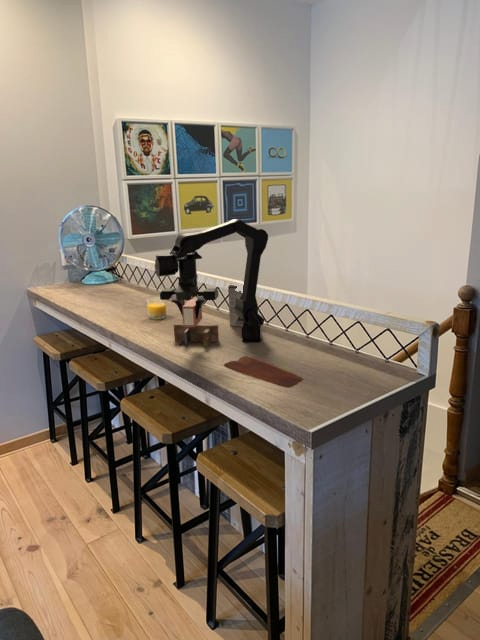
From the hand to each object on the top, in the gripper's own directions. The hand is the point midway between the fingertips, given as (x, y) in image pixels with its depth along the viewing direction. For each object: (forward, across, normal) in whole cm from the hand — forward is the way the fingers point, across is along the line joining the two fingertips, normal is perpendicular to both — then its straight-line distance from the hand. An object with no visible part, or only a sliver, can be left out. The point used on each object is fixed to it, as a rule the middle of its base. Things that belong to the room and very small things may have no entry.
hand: (190, 318), depth 165 cm
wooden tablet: (+12, +26, -17) cm, 34 cm away
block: (+2, 0, +2) cm, 3 cm away
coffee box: (+11, +11, +32) cm, 36 cm away
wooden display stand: (+11, -1, +7) cm, 13 cm away
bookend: (+11, -4, +7) cm, 14 cm away
